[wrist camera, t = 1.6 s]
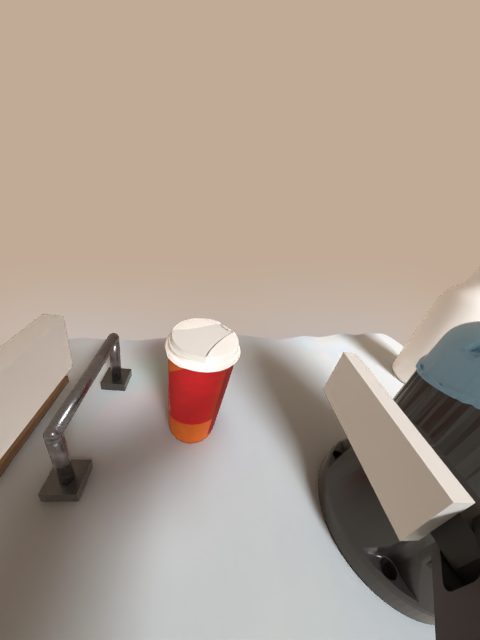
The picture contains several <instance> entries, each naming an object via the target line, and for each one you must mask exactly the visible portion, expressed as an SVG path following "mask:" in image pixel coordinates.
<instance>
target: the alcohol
mask: <svg viewBox="0 0 480 640" xmlns="http://www.w3.org/2000/svg"><path fill="white" fill-rule="evenodd" d="M476 321H480V267H479V268H478V269H477V270H476V272H475V273H474V274H473V275H472V276H471V277H470V278H469V279H468V280H467V281H466V282H464V283H462V284H460V285H457V286H454V287H452V288H450V289H447V290H446V291H445V292H444V293H443V294H442V295H441V296H440V297H439V298H438V299H437V301H436V302H435V304H434V305H433V307H432V308H431V309H430V311H429V312H428V314H427V315H426V317H425V318H424V320H423V321H422V323H421V324H420V325H419V327H418V328H417V330H416V331H415V333H414V334H413V335H412V337H411V338H410V340H409V341H408V343H407V344H406V345H405V347H404V348H403V350H402V351H401V353H400V354H399V355H398V357H397V358H396V360H395V361H394V363H393V372H394V374H395V375H396V376H397V378H398V379H399V380H401V381H402V382H403V383H404V384H405V383H406V382H407V381H408V379H409V378H410V377H411V376H412V374H413V373H414V372H415V371H416V364H417V362H418V361H419V359H420V358H421V357H423V356H424V355H426V354H428V353H429V352H430V350H431V349H432V348H433V347H434V346H435V345H436V344H437V343H438V341H439V340H440V339H441V338H442V337H443V336H444V335H445V334H446V333H447V332H448V331H449V330H450V329H452V328H454V327H456V326H458V325H461V324H464V323H468V322H476Z"/></svg>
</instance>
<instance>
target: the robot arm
mask: <svg viewBox="0 0 480 640" xmlns="http://www.w3.org/2000/svg"><path fill="white" fill-rule="evenodd" d="M72 366H73V364H72V359H71V353H70V348H69V343H68V338H67V332H66V326H65V321H64V317H63V316H57V315H49V314H42V315H41V316H40V317H38V318H37V319H36V320H34V321H33V322H32V323H31V324H29V325H28V326H27V327H25V328H24V329H23V330H22V331H20V332H19V333H18V334H17V335H15V336H14V337H12V338H11V339H10V340H9V341H7V342H6V343H5V344H3V345H2V346H1V347H0V459H1V458H2V456H3V455H4V454H5V453H6V451H7V450H8V449H9V447H10V446H11V445H12V444H13V442H14V441H15V440H16V438H17V437H18V436H19V435H20V433H21V432H22V431H23V429H24V428H25V427H26V425H27V424H28V423H29V422H30V420H31V419H32V418H33V416H34V415H35V414H36V413H37V411H38V410H39V409H40V407H41V406H42V405H43V404H44V402H45V401H46V400H47V398H48V397H49V396H50V394H51V393H52V392H53V391H54V389H55V388H56V387H57V385H58V384H59V383H60V382H61V380H62V379H63V378H64V376H65V375H66V374H67V373H68V371H69V370H70V369H71V367H72ZM323 390H324V392H325V394H326V396H327V398H328V400H329V402H330V404H331V406H332V408H333V410H334V412H335V414H336V416H337V418H338V420H339V422H340V424H341V426H342V428H343V430H344V432H345V434H346V436H347V438H346V439H344V440H342V441H340V442H339V443H337V444H336V445H335V446H334V447H333V448H332V449H331V451H330V452H329V454H328V455H327V457H326V458H325V460H324V461H323V463H322V466H321V469H320V473H319V496H320V502H321V506H322V510H323V513H324V516H325V519H326V522H327V525H328V527H329V529H330V532H331V534H332V536H333V538H334V540H335V542H336V544H337V545H338V547H339V549H340V550H341V552H342V554H343V555H344V557H345V558H346V560H347V561H348V563H349V564H350V565H351V567H352V568H353V569H354V571H355V572H356V573H357V574H358V576H359V577H360V578H361V579H362V580H363V581H364V582H365V584H366V585H367V586H368V587H369V588H370V589H371V590H372V591H373V592H374V593H375V594H377V595H378V596H379V597H380V598H381V599H382V600H383V601H385V602H386V603H387V604H388V605H390V606H391V607H393V608H394V609H396V610H397V611H399V612H400V613H402V614H404V615H406V616H408V617H410V618H412V619H414V620H416V621H419V622H422V623H426V624H431V625H435V633H436V640H480V321H476V322H468V323H464V324H461V325H458V326H456V327H454V328H452V329H450V330H449V331H448V332H447V333H446V334H445V335H444V336H443V337H442V338H441V339H440V340H439V341H438V343H437V344H436V345H435V346H434V347H433V348H432V349H431V350H430V352H429V353H428V354H426V355H424V356H423V357H421V358H420V359H419V361H418V362H417V364H416V371H415V372H414V373H413V374H412V376H411V377H410V378H409V379H408V381H407V382H406V383H405V384H404V386H403V387H402V388H401V389H400V391H399V392H398V393H397V394H396V396H395V397H394V398H393V399H392V398H391V396H390V395H389V394H388V393H387V391H386V390H385V389H384V388H383V386H382V385H381V384H380V383H379V381H378V380H377V379H376V378H375V376H374V375H373V374H372V373H371V371H370V370H369V369H368V368H367V366H366V365H365V364H364V363H363V361H362V360H361V359H360V358H359V356H358V355H357V354H354V353H346V352H343V354H342V356H341V358H340V360H339V361H338V363H337V365H336V367H335V369H334V371H333V372H332V374H331V376H330V378H329V380H328V382H327V383H326V385H325V387H324V389H323Z"/></svg>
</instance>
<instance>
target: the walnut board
mask: <svg viewBox="0 0 480 640" xmlns="http://www.w3.org/2000/svg"><path fill="white" fill-rule="evenodd" d="M68 382H69V380H68V376H64V378H63V379H62V380H61V382H60V383H59V384H58V385H57V387H56V388H55V389H54V391H53V392H52V393H51V394H50V396H49V397H48V398H47V400H46V401H45V402H44V404H43V405H42V406H41V407H40V409H39V410H38V411H37V413H36V414H35V415H34V416H33V418H32V419H31V420H30V422H29V423H28V424H27V425H26V427H25V428H24V429H23V431H22V432H21V433H20V435H19V436H18V437H17V438H16V440H15V441H14V442H13V444H12V445H11V446H10V447H9V449H8V450H7V451H6V453H5V454H4V455H3V456H2V458H1V459H0V476H1V475H2V473H3V472H4V471H5V469H6V468H7V467H8V465H9V464H10V462H11V461H12V460H13V458H14V457H15V455H16V454H17V453H18V451H19V450H20V448H21V447H22V446H23V444H24V443H25V441H26V440H27V439H28V437H29V436H30V434H31V433H32V432H33V430H34V429H35V428H36V426H37V425H38V423H39V422H40V421H41V419H42V418H43V416H44V415H45V414H46V412H47V411H48V409H49V408H50V407H51V405H52V404H53V402H54V401H55V400H56V398H57V397H58V395H59V394H60V393H61V391H62V390H63V389H64V387H65V386H66V384H67V383H68Z"/></svg>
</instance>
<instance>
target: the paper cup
mask: <svg viewBox="0 0 480 640" xmlns="http://www.w3.org/2000/svg"><path fill="white" fill-rule="evenodd" d="M165 350H166V353H167V357H168V375H169V423H170V429H171V432H172V434H173V435H174V436H175V437H176V438H177V439H178V440H180V441H182V442H185V443H196V442H200V441H202V440H203V439H205V438H206V437H207V436H208V435H209V434H210V432H211V430H212V428H213V426H214V423H215V420H216V417H217V414H218V411H219V408H220V405H221V402H222V399H223V396H224V393H225V390H226V387H227V384H228V381H229V378H230V375H231V372H232V369H233V366H234V364H235V363H236V362H237V361H238V359H239V357H240V351H241V350H240V346H239V341H238V337H237V335H236V333H235V332H231V329H230V328H228V327H226V326H225V325H221V323H220V322H219V321H216V320H212V319H206V318H193V319H188V320H184V321H182V322H180V323H178V324H177V325H175V327H174V328H173V329H172V331H171V333H170V335H169V336H168V337H167V339H166V342H165Z"/></svg>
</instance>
